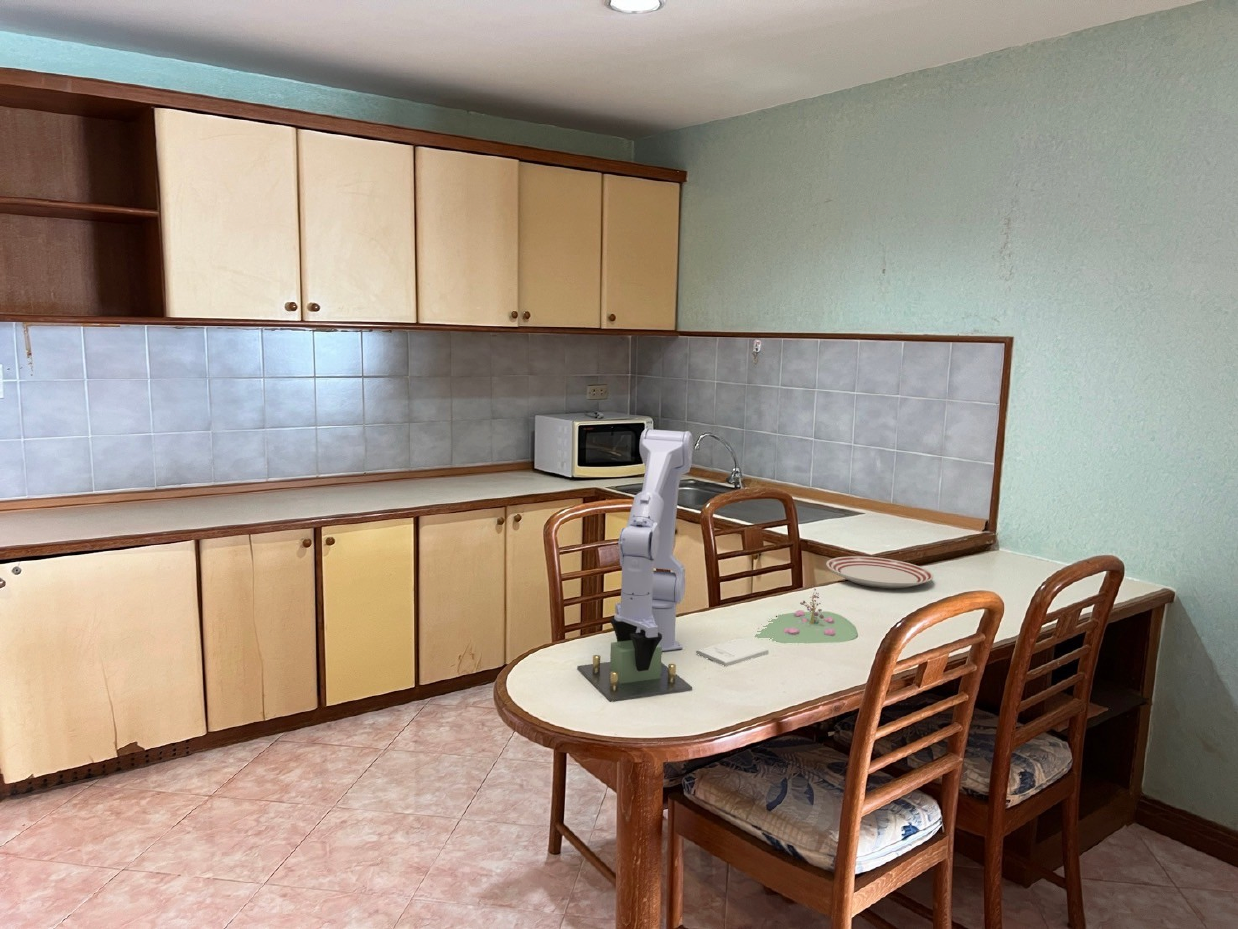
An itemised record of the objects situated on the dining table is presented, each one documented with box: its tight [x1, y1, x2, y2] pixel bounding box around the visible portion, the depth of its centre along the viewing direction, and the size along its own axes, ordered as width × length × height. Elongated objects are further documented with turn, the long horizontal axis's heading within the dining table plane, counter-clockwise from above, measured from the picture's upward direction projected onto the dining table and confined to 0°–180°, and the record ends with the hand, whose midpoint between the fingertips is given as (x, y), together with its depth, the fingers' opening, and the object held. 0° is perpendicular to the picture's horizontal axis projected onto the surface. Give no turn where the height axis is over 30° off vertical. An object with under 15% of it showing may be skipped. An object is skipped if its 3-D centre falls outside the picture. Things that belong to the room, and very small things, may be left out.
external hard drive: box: [695, 637, 769, 667], centre depth 184 cm, size 2×8×12 cm
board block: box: [609, 640, 663, 684], centre depth 168 cm, size 5×8×6 cm, turn 114°
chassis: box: [576, 654, 693, 703], centre depth 168 cm, size 16×16×4 cm
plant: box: [754, 588, 859, 645], centre depth 199 cm, size 25×21×9 cm
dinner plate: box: [825, 555, 934, 590], centre depth 243 cm, size 27×27×3 cm
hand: (634, 662), depth 168 cm, fingers open, 7 cm apart
